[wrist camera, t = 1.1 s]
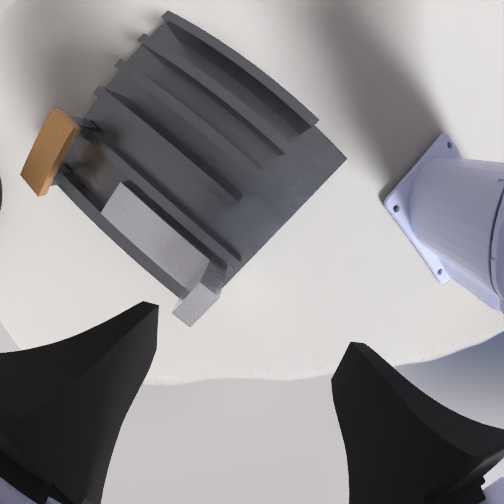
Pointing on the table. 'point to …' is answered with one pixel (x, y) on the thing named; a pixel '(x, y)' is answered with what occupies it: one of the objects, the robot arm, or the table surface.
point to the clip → (168, 249)
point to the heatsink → (189, 146)
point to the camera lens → (0, 195)
